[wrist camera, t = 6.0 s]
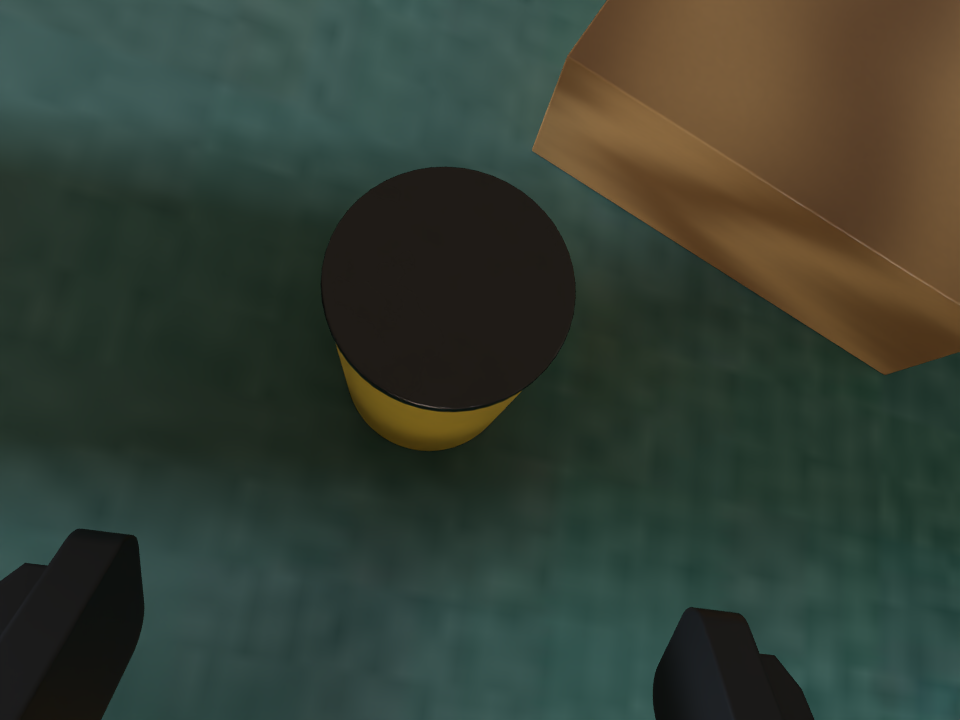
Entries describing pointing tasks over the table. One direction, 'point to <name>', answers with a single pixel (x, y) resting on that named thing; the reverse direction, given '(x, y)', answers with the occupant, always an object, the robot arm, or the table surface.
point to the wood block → (785, 153)
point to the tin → (444, 302)
